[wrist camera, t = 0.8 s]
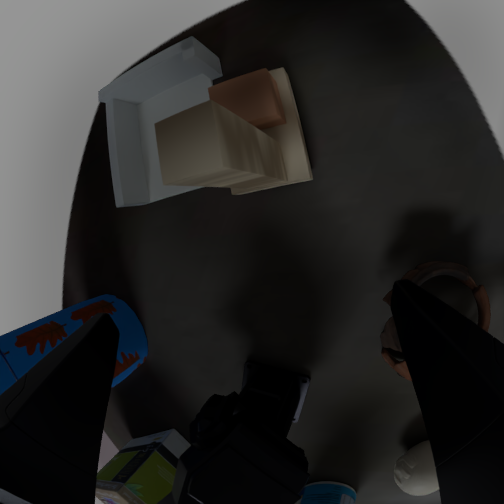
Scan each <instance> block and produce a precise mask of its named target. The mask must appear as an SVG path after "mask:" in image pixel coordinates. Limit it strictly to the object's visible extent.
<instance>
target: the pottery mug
mask: <svg viewBox="0 0 504 504" xmlns="http://www.w3.org/2000/svg"><path fill="white" fill-rule="evenodd" d="M439 275H449V276H453V277H455V278H456V279H458V280H459V281H460V282H462V283H463V284H464V285H466V286H469V287H470V289H471V290H472V292H473V295H474V297H475V299H476V302H477V306H478V315H479V317H478V326H479V327H481V328H482V329H484V330H485V331H486V332H488V328H489V324H490V316H491V313H490V304H489V298H488V295H487V293H486V290H485V288H484V286H483V285H479V286H477V285H476V284H475V282H474V280H473V279H472V278H471V277H470V275H469V272H468V269H467V267H465V266H463V265H461V264H458V263H452V262H442V261H432V262H426V263H423V264H420V265H417V266H416V268H415V270H410V271H408V272H407V273H406V274H405V275H404V276H403V277H402V279H401V280H403V279H408V280H410V281H412V282H413V283H415V284H417V285H418V286H421V285H422V284H423V283H424V282H425V281H426V280H428V279H430V278H432V277H435V276H439ZM392 290H393V289H392ZM392 290H391V291H390V292H389V293H388V294H387V295H386V296H385V297H384V298H383V301H385V302H387V303H388V305H389V306H390V302H391V296H392ZM380 338H381V342H382V345H383V347H384V349H382V352H381V354H382V356H383V358H384V360H385V361H386V362H387V363H388V364H389V365H390V366H391V367H392V368H393V369H395V371H397V372H398V375H399V376H401V377H403V378H406V379H407V380H410V381H412V379H411V376H410V373H409V371H408V368H407V365H406V362H405V360H403V361H398V360H396V359H395V358H394V357H393V356H391V355H390V353H389V352H388V351H387V350H386V349H385V348H392V349H393V350H396V351H401V352H402V350H401V346H400V342H399V338H398V334H397V330H396V326H395V322H394V319H393V316H392V317H391V318H389V320H388V321H387V322H386V325H385V329H384V331H383V332H382V333H381V335H380Z"/></svg>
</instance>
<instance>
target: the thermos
mask: <svg viewBox="0 0 504 504" xmlns="http://www.w3.org/2000/svg"><path fill="white" fill-rule="evenodd" d="M97 313H108V314H109V315H110V316H111V318H112V319H113V321H114V323H115V324H116V326H117V327H118V329H119V332H120V338H119V344H118V351H117V358H116V365H115V372H114V377H113V382H112V387H111V389H112V388H113V387H115V386H116V385H117V384H119V383H120V382H121V381H123V380H124V379H125V378H126V377H127V376H128V375H130V374H131V373H132V372H133V371H134V370H135V369H137V368H138V367H139V366H140V365H141V364H142V363H144V362H145V360H146V357H147V354H148V345H147V338H146V335H145V332H144V329H143V326H142V324H141V323H140V321H139V319H138V318H137V316H136V314H135V312H134V311H133V310H132V309H131V308H130V307H129V306H128V305H127V304H126V303H125V302H124V301H123V300H121V299H120V298H118V297H116V296H115V295H109V294H104V295H101V296H98V297H95V298H92V299H89V300H86V301H83V302H80V303H78V304H75V305H73V306H71V307H68V308H66V309H63V310H61V311H59V312H56V313H54V314H51V315H49V316H47V317H44V318H42V319H39V320H37V321H35V322H32V323H30V324H28V325H25V326H23V327H21V328H18V329H16V330H13V331H11V332H9V333H6V334H4V335H2V336H0V395H1V394H2V393H3V392H4V391H6V390H7V389H8V388H9V387H11V386H12V385H13V384H14V383H15V382H16V381H17V380H19V379H20V378H21V377H22V376H23V375H24V374H25V373H26V372H28V371H29V370H30V369H31V368H32V367H33V366H34V365H36V364H37V363H38V362H39V361H40V360H41V359H42V358H44V357H45V356H46V355H47V354H48V353H49V352H51V351H52V350H53V349H54V348H55V347H56V346H58V345H59V344H60V343H61V342H62V341H64V340H65V339H66V338H67V337H68V336H70V335H71V334H72V333H73V332H74V331H76V330H77V329H78V328H79V327H80V326H82V325H83V324H84V323H85V322H87V321H88V320H89V319H90V318H92V317H93V316H94V315H95V314H97Z"/></svg>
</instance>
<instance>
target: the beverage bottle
mask: <svg viewBox="0 0 504 504" xmlns="http://www.w3.org/2000/svg"><path fill="white" fill-rule="evenodd" d="M299 495H300V496H301V499H300V500H298V501H297V502H296V504H354V503H355V500H356V492H355V490H354V489H353V488H352V487H350V486H349V485H346V484H343V483H340V482H333V481H320V482H314V483H310V484H308V485H306V486H305V487H304V489H303V490H302V492H301V493H300V494H299Z"/></svg>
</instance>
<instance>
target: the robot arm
mask: <svg viewBox="0 0 504 504" xmlns="http://www.w3.org/2000/svg"><path fill="white" fill-rule="evenodd" d="M390 307H391V311H392V315H393V319H394V322H395V326H396V330H397V334H398V338H399V342H400V346H401V350H402V353H403V356H404V359H405V362H406V365H407V368H408V371H409V373H410V376H411V379H412V382H413V386H414V389H415V392H416V395H417V398H418V402H419V405H420V408H421V412H422V415H423V419H424V422H425V426H426V430H427V434H428V438H429V442H430V446H431V450H432V454H433V459H434V464H435V467H436V474H437V479H438V485H439V491H440V497H441V504H504V344H503V343H502V342H500V341H499V340H498V339H496V338H495V337H494V338H493V336H492V335H491V334H489V333H488V332H486V331H485V330H484V329H482V328H481V327H479V326H478V325H477V324H475V323H474V322H472V321H471V320H469V319H468V318H467V317H465V316H464V315H462V314H461V313H459V312H458V311H456V310H455V309H453V308H452V307H450V306H449V305H447V304H446V303H444V302H443V301H441V300H440V299H438V298H437V297H435V296H434V295H432V294H431V293H429V292H427V291H426V290H424V289H423V288H421V287H420V286H418V285H417V284H415V283H413V282H412V281H410V280H408V279H403V280H397V281H395V282H394V285H393V290H392V296H391V302H390ZM119 338H120V332H119V329H118V327H117V326H116V324H115V323H114V321H113V319H112V318H111V316H110V315H109V314H108V313H97V314H95V315H94V316H93V317H92V318H90V319H89V320H88V321H87V322H85V323H84V324H83V325H82V326H80V327H79V328H78V329H77V330H76V331H74V332H73V333H72V334H71V335H70V336H68V337H67V338H66V339H65V340H64V341H62V342H61V343H60V344H59V345H58V346H56V347H55V348H54V349H53V350H52V351H51V352H49V353H48V354H47V355H46V356H45V357H44V358H42V359H41V360H40V361H39V362H38V363H37V364H36V365H34V366H33V367H32V368H31V369H30V370H29V371H28V372H26V373H25V374H24V375H23V376H22V377H21V378H20V379H19V380H17V381H16V382H15V383H14V384H13V385H12V386H11V387H9V388H8V389H7V390H6V391H4V392H3V393H2V394H1V395H0V504H95V493H96V481H97V470H98V461H99V454H100V447H101V440H102V433H103V428H104V422H105V417H106V411H107V406H108V401H109V396H110V391H111V387H112V382H113V377H114V372H115V365H116V358H117V351H118V344H119ZM248 364H249V365H251V366H252V367H250V366H249V365H248ZM303 379H306V380H307V381H304V380H303ZM309 383H310V377H309V376H308V375H305V374H300V373H296V372H292V371H289V370H285V369H281V368H278V367H274V366H270V365H266V364H262V363H258V362H255V361H251V360H249V361H247V362H246V363H245V366H244V374H243V382H242V390H241V392H240V394H239V395H238V394H237V393H236V392H235V391H234V392H232V393H231V394H229V395H227V396H224V395H223V396H221V395H217V394H214V395H212V396H211V397H210V398H209V399H208V401H207V402H206V403H205V404H204V405H203V407H202V408H201V410H200V412H199V413H198V414H197V415H196V418H195V419H194V421H193V422H192V423H191V424H190V425H189V426H190V442H191V444H192V445H191V446H190V447H189V448H188V449H187V450H186V451H185V452H184V453H183V454H182V455H181V456H180V457H179V460H178V464H177V469H176V473H175V478H174V482H173V487H172V491H171V492H170V493H169V494H168V495H167V496H165V497H164V498H163V499H162V500H160V501H159V502H158V503H157V504H294V503H296V502H297V501H298V500H300V499H301V496H300V495H299V494H300V493H301V492H302V490H303V489H304V487H305V485H306V483H307V481H308V479H309V476H310V474H309V473H308V461H307V458H306V457H305V454H304V450H303V449H301V448H300V447H299V448H298V447H297V446H296V445H294V444H293V443H292V442H291V441H289V440H288V439H287V438H286V437H287V435H288V432H289V429H290V427H291V424H292V422H297V421H298V419H299V416H300V413H301V409H302V406H303V403H304V400H305V396H306V393H307V390H308V386H309Z"/></svg>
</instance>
